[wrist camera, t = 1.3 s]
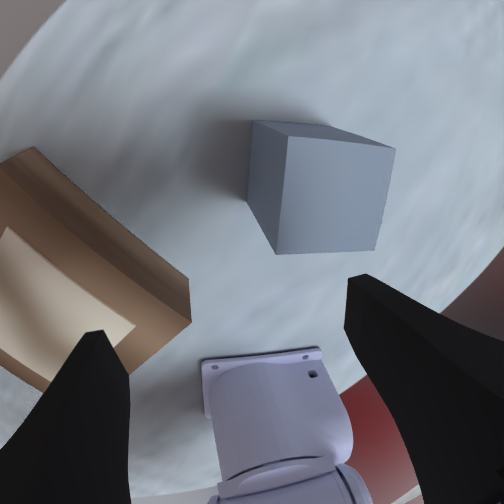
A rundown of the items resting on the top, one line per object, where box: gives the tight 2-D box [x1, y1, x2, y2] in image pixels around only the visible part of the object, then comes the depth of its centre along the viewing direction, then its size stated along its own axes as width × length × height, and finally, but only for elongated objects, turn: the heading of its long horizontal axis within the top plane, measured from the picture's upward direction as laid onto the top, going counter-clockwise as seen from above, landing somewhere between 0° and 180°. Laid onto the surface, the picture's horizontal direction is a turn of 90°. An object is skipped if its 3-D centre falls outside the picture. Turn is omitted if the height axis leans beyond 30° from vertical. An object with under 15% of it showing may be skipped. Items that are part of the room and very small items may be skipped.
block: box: [247, 120, 396, 255], centre depth 14 cm, size 4×4×6 cm
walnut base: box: [0, 147, 192, 393], centre depth 15 cm, size 12×12×4 cm
